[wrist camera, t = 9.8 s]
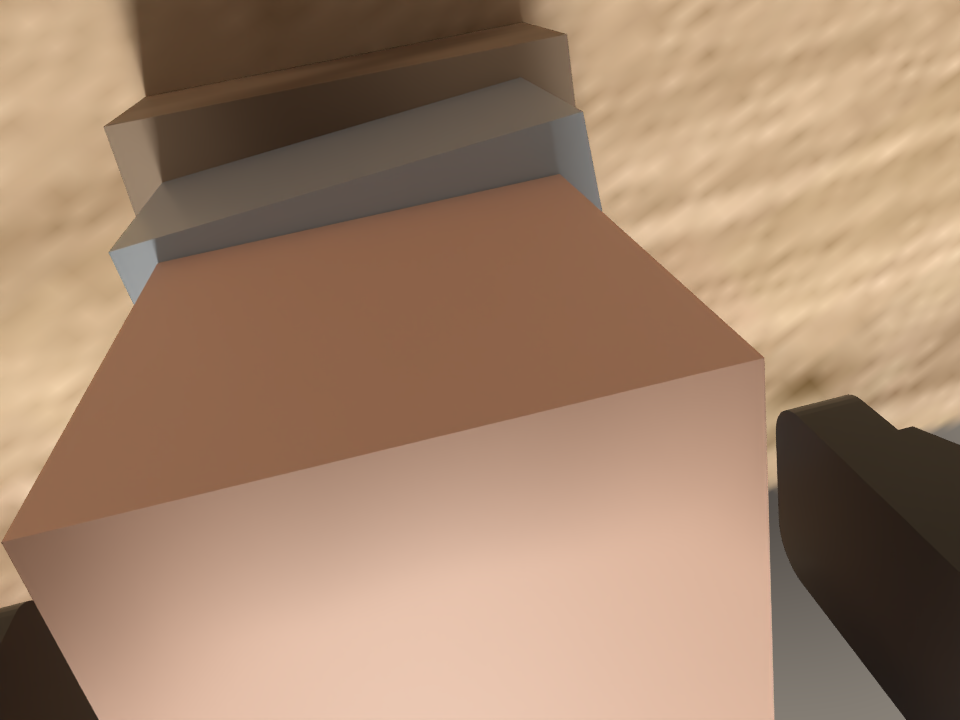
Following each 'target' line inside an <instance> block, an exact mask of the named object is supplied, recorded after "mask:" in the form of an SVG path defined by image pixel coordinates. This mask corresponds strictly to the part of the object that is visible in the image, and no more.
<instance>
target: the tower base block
mask: <svg viewBox="0 0 960 720" xmlns="http://www.w3.org/2000/svg"><path fill="white" fill-rule="evenodd" d="M520 77H522V78H523V79H525V80H527V81H529V82H531V83H532V84H534V85H536V86H538V87H540V88H541V89H543V90H545V91H547V92H549V93H550V94H552V95H554V96H556V97H558V98H559V99H561V100H563V101H565V102H567V103H568V104H570V105H572V106H574V107H575V100H574V91H573V82H572V74H571V65H570V56H569V48H568V39H567V34H564V33H560V32H557V31H553V30H549V29H546V28H542V27H538V26H534V25H531V24H527V23H523V22H522V23H517V24H512V25H507V26H502V27H496V28H491V29H486V30H481V31H476V32H471V33H466V34H461V35H456V36H451V37H446V38H441V39H436V40H431V41H426V42H421V43H416V44H411V45H405V46H400V47H395V48H390V49H385V50H380V51H375V52H370V53H365V54H360V55H355V56H350V57H345V58H340V59H335V60H330V61H325V62H319V63H314V64H309V65H304V66H299V67H294V68H289V69H284V70H279V71H274V72H269V73H264V74H259V75H254V76H249V77H244V78H239V79H234V80H228V81H223V82H218V83H213V84H208V85H203V86H198V87H193V88H188V89H183V90H178V91H173V92H168V93H163V94H158V95H153V96H148V97H145V98H144V99H142V100H141V101H139V102H138V103H136V104H135V105H134V106H132V107H131V108H129V109H128V110H127V111H125V112H124V113H122V114H121V115H120V116H118V117H117V118H115V119H114V120H112V121H111V122H110V123H108V124H107V125H105V126H104V129H105V132H106V135H107V137H108V140H109V143H110V146H111V149H112V151H113V154H114V157H115V160H116V162H117V165H118V168H119V171H120V173H121V176H122V179H123V182H124V184H125V187H126V190H127V193H128V195H129V198H130V201H131V204H132V206H133V209H134V212H135V215H136V216H137V215H138V213H139V212H140V211H141V209H142V208H143V207H144V206H145V204H146V203H147V202H148V200H149V199H150V198H151V196H152V195H153V194H154V193H155V191H156V190H157V189H158V187H159V186H160V185H161V183H163V182H166V181H169V180H173V179H176V178H180V177H183V176H186V175H190V174H193V173H197V172H200V171H203V170H207V169H210V168H214V167H217V166H220V165H224V164H227V163H231V162H234V161H237V160H241V159H244V158H248V157H251V156H254V155H258V154H261V153H265V152H268V151H271V150H275V149H278V148H282V147H285V146H288V145H292V144H295V143H299V142H302V141H305V140H309V139H312V138H316V137H319V136H322V135H326V134H329V133H333V132H336V131H339V130H343V129H346V128H350V127H353V126H356V125H360V124H363V123H367V122H370V121H373V120H377V119H380V118H384V117H387V116H390V115H394V114H397V113H401V112H404V111H407V110H411V109H414V108H418V107H421V106H424V105H428V104H431V103H435V102H438V101H441V100H445V99H448V98H452V97H455V96H458V95H462V94H465V93H469V92H472V91H475V90H479V89H482V88H486V87H489V86H492V85H496V84H499V83H503V82H506V81H509V80H513V79H516V78H520Z"/></svg>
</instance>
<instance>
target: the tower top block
mask: <svg viewBox="0 0 960 720" xmlns="http://www.w3.org/2000/svg"><path fill="white" fill-rule="evenodd" d="M557 174H560V175H562V176H563V177H564V178H565V179H566V180H567V181H568V182H569V183H571V184H572V185H573V186H574V187H575V188H576V189H577V190H578V191H579V192H581V193H582V194H583V195H584V196H585V197H586V198H587V199H588V200H589V201H591V202H592V203H593V204H594V205H595V206H596V207H597V208H598V209H599V210H601V211H602V208H601V203H600V198H599V192H598V187H597V182H596V177H595V172H594V167H593V161H592V156H591V151H590V146H589V141H588V136H587V130H586V125H585V120H584V115H583V111H581V110H579V109H577V108H576V107H574V106H572V105H570V104H568V103H567V102H565V101H563V100H561V99H559V98H558V97H556V96H554V95H552V94H550V93H549V92H547V91H545V90H543V89H541V88H540V87H538V86H536V85H534V84H532V83H531V82H529V81H527V80H525V79H523V78H522V77H520V78H516V79H513V80H509V81H506V82H503V83H499V84H496V85H492V86H489V87H486V88H482V89H479V90H475V91H472V92H469V93H465V94H462V95H458V96H455V97H452V98H448V99H445V100H441V101H438V102H435V103H431V104H428V105H424V106H421V107H418V108H414V109H411V110H407V111H404V112H401V113H397V114H394V115H390V116H387V117H384V118H380V119H377V120H373V121H370V122H367V123H363V124H360V125H356V126H353V127H350V128H346V129H343V130H339V131H336V132H333V133H329V134H326V135H322V136H319V137H316V138H312V139H309V140H305V141H302V142H299V143H295V144H292V145H288V146H285V147H282V148H278V149H275V150H271V151H268V152H265V153H261V154H258V155H254V156H251V157H248V158H244V159H241V160H237V161H234V162H231V163H227V164H224V165H220V166H217V167H214V168H210V169H207V170H203V171H200V172H197V173H193V174H190V175H186V176H183V177H180V178H176V179H173V180H169V181H166V182H163V183H161V185H160V186H159V187H158V189H157V190H156V191H155V193H154V194H153V195H152V196H151V198H150V199H149V200H148V202H147V203H146V204H145V206H144V207H143V208H142V209H141V211H140V212H139V213H138V215H137V216H136V217H135V219H134V220H133V221H132V222H131V224H130V225H129V226H128V228H127V229H126V230H125V232H124V233H123V234H122V235H121V237H120V238H119V239H118V241H117V242H116V243H115V245H114V246H113V247H112V248H111V250H110V251H109V254H110V256H111V258H112V260H113V263H114V265H115V267H116V269H117V271H118V273H119V275H120V277H121V279H122V281H123V283H124V285H125V287H126V289H127V292H128V294H129V296H130V298H131V300H132V302H133V304H135V303H136V301H137V299H138V297H139V295H140V294H141V292H142V290H143V288H144V286H145V285H146V283H147V281H148V279H149V277H150V276H151V274H152V272H153V270H154V269H155V267H156V265H157V263H160V262H164V261H169V260H173V259H178V258H182V257H187V256H191V255H196V254H200V253H205V252H209V251H214V250H218V249H223V248H227V247H232V246H236V245H241V244H245V243H250V242H254V241H259V240H263V239H268V238H272V237H277V236H281V235H286V234H291V233H295V232H300V231H304V230H309V229H313V228H318V227H322V226H327V225H331V224H336V223H340V222H345V221H349V220H354V219H358V218H363V217H367V216H372V215H376V214H381V213H385V212H390V211H394V210H399V209H403V208H408V207H412V206H417V205H421V204H426V203H430V202H435V201H439V200H444V199H448V198H453V197H458V196H462V195H467V194H471V193H476V192H480V191H485V190H489V189H494V188H498V187H503V186H507V185H512V184H516V183H521V182H525V181H530V180H534V179H539V178H543V177H548V176H552V175H557Z"/></svg>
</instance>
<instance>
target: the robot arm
mask: <svg viewBox="0 0 960 720" xmlns="http://www.w3.org/2000/svg"><path fill="white" fill-rule="evenodd" d="M776 449H777V478H778V506H779V527H780V533H781V537H782V542H783V545H784V548H785V551H786V554H787V557H788V559H789V561H790V563H791V566H792V568H793V569H794V571H795V573H796V575H797V577H798V578H799V580H800V581H801V582H802V584H803V585H804V586H805V588H806V589H807V590H808V592H809V593H810V594H811V596H812V597H813V598H814V599H815V601H816V602H817V603H818V605H819V606H820V607H821V609H822V610H823V611H824V613H825V614H826V615H827V616H828V618H829V619H830V620H831V622H832V623H833V624H834V626H835V627H836V628H837V630H838V631H839V632H840V634H841V635H842V636H843V637H844V639H845V640H846V641H847V643H848V644H849V645H850V647H851V648H852V649H853V651H854V652H855V653H856V654H857V656H858V657H859V658H860V660H861V661H862V662H863V664H864V665H865V666H866V667H867V669H868V670H869V672H870V673H871V674H872V675H873V677H874V678H875V679H876V681H877V682H878V683H879V685H880V686H881V687H882V689H883V690H884V691H885V692H886V694H887V695H888V696H889V698H890V699H891V700H892V702H893V703H894V704H895V706H896V707H897V708H898V709H899V711H900V712H901V713H902V715H903V716H904V717H905V719H906V720H960V445H958V444H956V443H953V442H950V441H948V440H945V439H943V438H941V437H938V436H936V435H933V434H931V433H928V432H926V431H923V430H920V429H918V428H915V427H913V426H912V427H908V428H905V429H901V430H898V429H896V428H895V427H894V426H893V425H891V424H890V423H889V422H888V421H887V420H885V419H884V418H883V417H882V416H880V415H879V414H878V413H877V412H876V411H874V410H873V409H872V408H871V407H869V406H868V405H867V404H866V403H865V402H863V401H862V400H861V399H859V398H858V397H856V396H853V395H845V396H841V397H837V398H833V399H829V400H825V401H821V402H817V403H813V404H809V405H805V406H801V407H797V408H794V409H790V410H786V411H783V412H781V413H780V415H779V416H778V419H777V424H776ZM0 720H99V719H98V717H97V716H96V714H95V712H94V710H93V708H92V707H91V705H90V703H89V701H88V699H87V697H86V696H85V694H84V692H83V690H82V688H81V686H80V685H79V683H78V681H77V679H76V677H75V676H74V674H73V672H72V670H71V668H70V666H69V665H68V663H67V661H66V659H65V657H64V656H63V654H62V652H61V650H60V648H59V646H58V645H57V643H56V641H55V639H54V637H53V635H52V634H51V632H50V630H49V628H48V626H47V625H46V623H45V621H44V619H43V617H42V615H41V614H40V612H39V610H38V608H37V606H36V604H35V603H34V601H32V600H31V601H27V602H23V603H19V604H15V605H11V606H7V607H3V608H0Z"/></svg>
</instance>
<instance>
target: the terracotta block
mask: <svg viewBox="0 0 960 720" xmlns="http://www.w3.org/2000/svg"><path fill="white" fill-rule="evenodd" d="M768 509H769V508H768V471H767V435H766V399H765V362H764V357H763V356H762V355H761V354H760V353H758V352H757V351H756V350H755V349H754V348H753V347H752V346H751V345H750V344H748V343H747V342H746V341H745V340H744V339H743V338H742V337H741V336H740V335H738V334H737V333H736V332H735V331H734V330H733V329H732V328H731V327H730V326H728V325H727V324H726V323H725V322H724V321H723V320H722V319H721V318H719V317H718V316H717V315H716V314H715V313H714V312H713V311H712V310H711V309H709V308H708V307H707V306H706V305H705V304H704V303H703V302H702V301H701V300H699V299H698V298H697V297H696V296H695V295H694V294H693V293H692V292H691V291H689V290H688V289H687V288H686V287H685V286H684V285H683V284H682V283H681V282H679V281H678V280H677V279H676V278H675V277H674V276H673V275H672V274H671V273H669V272H668V271H667V270H666V269H665V268H664V267H663V266H662V265H661V264H659V263H658V262H657V261H656V260H655V259H654V258H653V257H652V256H651V255H649V254H648V253H647V252H646V251H645V250H644V249H643V248H642V247H641V246H639V245H638V244H637V243H636V242H635V241H634V240H633V239H632V238H631V237H629V236H628V235H627V234H626V233H625V232H624V231H623V230H622V229H621V228H619V227H618V226H617V225H616V224H615V223H614V222H613V221H612V220H611V219H609V218H608V217H607V216H606V215H605V214H604V213H603V212H602V211H601V210H599V209H598V208H597V207H596V206H595V205H594V204H593V203H592V202H591V201H589V200H588V199H587V198H586V197H585V196H584V195H583V194H582V193H581V192H579V191H578V190H577V189H576V188H575V187H574V186H573V185H572V184H571V183H569V182H568V181H567V180H566V179H565V178H564V177H563V176H562V175H560V174H557V175H552V176H548V177H543V178H539V179H534V180H530V181H525V182H521V183H516V184H512V185H507V186H503V187H498V188H494V189H489V190H485V191H480V192H476V193H471V194H467V195H462V196H458V197H453V198H448V199H444V200H439V201H435V202H430V203H426V204H421V205H417V206H412V207H408V208H403V209H399V210H394V211H390V212H385V213H381V214H376V215H372V216H367V217H363V218H358V219H354V220H349V221H345V222H340V223H336V224H331V225H327V226H322V227H318V228H313V229H309V230H304V231H300V232H295V233H291V234H286V235H281V236H277V237H272V238H268V239H263V240H259V241H254V242H250V243H245V244H241V245H236V246H232V247H227V248H223V249H218V250H214V251H209V252H205V253H200V254H196V255H191V256H187V257H182V258H178V259H173V260H169V261H164V262H160V263H157V265H156V267H155V269H154V270H153V272H152V274H151V276H150V277H149V279H148V281H147V283H146V285H145V286H144V288H143V290H142V292H141V294H140V295H139V297H138V299H137V301H136V303H135V304H134V306H133V308H132V310H131V311H130V313H129V315H128V317H127V319H126V320H125V322H124V324H123V326H122V328H121V329H120V331H119V333H118V335H117V337H116V338H115V340H114V342H113V344H112V345H111V347H110V349H109V351H108V353H107V354H106V356H105V358H104V360H103V362H102V363H101V365H100V367H99V369H98V370H97V372H96V374H95V376H94V378H93V379H92V381H91V383H90V385H89V387H88V388H87V390H86V392H85V394H84V396H83V397H82V399H81V401H80V403H79V404H78V406H77V408H76V410H75V412H74V413H73V415H72V417H71V419H70V421H69V422H68V424H67V426H66V428H65V430H64V431H63V433H62V435H61V437H60V438H59V440H58V442H57V444H56V446H55V447H54V449H53V451H52V453H51V455H50V456H49V458H48V460H47V462H46V463H45V465H44V467H43V469H42V471H41V472H40V474H39V476H38V478H37V480H36V481H35V483H34V485H33V487H32V489H31V490H30V492H29V494H28V496H27V497H26V499H25V501H24V503H23V505H22V506H21V508H20V510H19V512H18V514H17V515H16V517H15V519H14V521H13V523H12V524H11V526H10V528H9V530H8V531H7V533H6V535H5V537H4V539H3V540H2V542H1V543H2V544H3V546H4V548H5V550H6V552H7V553H8V555H9V557H10V559H11V561H12V563H13V564H14V566H15V568H16V570H17V572H18V573H19V575H20V577H21V579H22V581H23V583H24V584H25V586H26V588H27V590H28V592H29V594H30V595H31V597H32V599H33V601H34V603H35V604H36V606H37V608H38V610H39V612H40V614H41V615H42V617H43V619H44V621H45V623H46V625H47V626H48V628H49V630H50V632H51V634H52V635H53V637H54V639H55V641H56V643H57V645H58V646H59V648H60V650H61V652H62V654H63V656H64V657H65V659H66V661H67V663H68V665H69V666H70V668H71V670H72V672H73V674H74V676H75V677H76V679H77V681H78V683H79V685H80V686H81V688H82V690H83V692H84V694H85V696H86V697H87V699H88V701H89V703H90V705H91V707H92V708H93V710H94V712H95V714H96V716H97V717H98V719H99V720H774V691H773V655H772V654H773V653H772V620H771V618H772V617H771V581H770V546H769V510H768Z"/></svg>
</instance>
